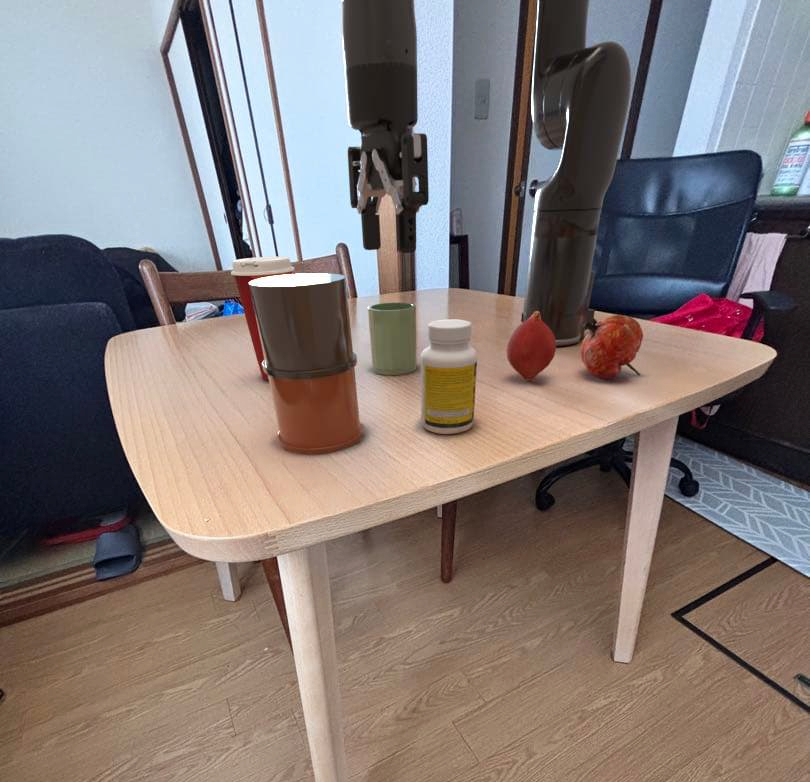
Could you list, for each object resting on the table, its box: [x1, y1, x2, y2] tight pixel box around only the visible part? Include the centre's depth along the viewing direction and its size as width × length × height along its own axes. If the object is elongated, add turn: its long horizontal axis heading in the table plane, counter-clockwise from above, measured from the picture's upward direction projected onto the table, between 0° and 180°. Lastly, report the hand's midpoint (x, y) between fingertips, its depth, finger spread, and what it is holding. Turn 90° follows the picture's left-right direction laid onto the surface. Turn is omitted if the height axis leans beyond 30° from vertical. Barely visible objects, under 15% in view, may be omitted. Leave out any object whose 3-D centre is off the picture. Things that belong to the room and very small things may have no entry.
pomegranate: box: [580, 314, 644, 380], centre depth 58 cm, size 7×7×10 cm
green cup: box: [367, 301, 418, 376], centre depth 63 cm, size 6×6×8 cm
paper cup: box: [230, 256, 295, 382], centre depth 61 cm, size 8×8×14 cm
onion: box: [506, 311, 557, 381], centre depth 57 cm, size 6×6×8 cm
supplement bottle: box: [420, 318, 478, 435], centre depth 46 cm, size 5×5×10 cm
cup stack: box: [249, 272, 365, 455], centre depth 43 cm, size 9×9×14 cm
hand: (388, 251), depth 57 cm, fingers open, 8 cm apart
